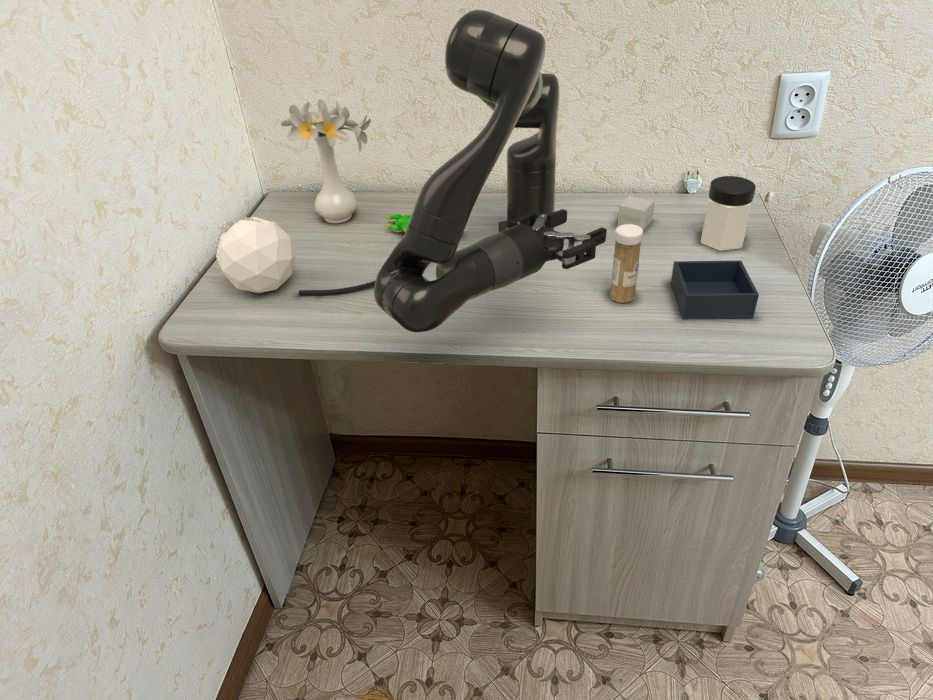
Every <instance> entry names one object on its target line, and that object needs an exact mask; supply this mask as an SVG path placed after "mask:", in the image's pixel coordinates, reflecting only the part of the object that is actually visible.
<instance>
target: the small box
mask: <svg viewBox="0 0 933 700" xmlns="http://www.w3.org/2000/svg"><path fill="white" fill-rule="evenodd" d="M618 206H619V207H618V220H617V227H618V226H620V225H624V224H633V225H637V226H639V227H641V228H642V230H643V231H645V230H646V228H647V227H648V226H649V225H650V224H651V223H652V221H653V217H654V208H655V199H649V198H644V197H639V196H633V195H628V196H627V198H626V199H625V200H623V202H622V203H620V204H619V205H618Z"/></svg>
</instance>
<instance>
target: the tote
mask: <svg viewBox="0 0 933 700" xmlns="http://www.w3.org/2000/svg"><path fill="white" fill-rule="evenodd" d="M670 287H671V289H672V292H673V296H674V299H675V301H676V304H677V307H678V311H679V313H680V317H681V319H682V320H718V319H719V320H739V319H741V320H742V319H743V320H744V319H746V320H748V319H749V320H751V319H753V320H754V316H755V313H756V308H757V304H758V302H759V301H758V300H759V297H760V294H759V292H758V290H757V288H756V286H755V285H754V282H753V281H752V278H751V277H750V274H749V273H748V271H747V269H746V267H745V264H744V263H743V261H742V259H741V260H738V259H737V260H681V261H680V260H677V261H675V260H674V261H673V267H672V272H671V279H670Z"/></svg>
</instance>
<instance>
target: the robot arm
mask: <svg viewBox="0 0 933 700" xmlns="http://www.w3.org/2000/svg"><path fill="white" fill-rule="evenodd" d="M546 47H547V46H546V39H545V36H544V35H543V34H542V33H541V32H539V31H537V30H535V29H533V28H531V27H528V26H526V25H524V24H521V23H520V22H519V23H518V22H517V21H515V20H511V19H509V18H506V17H504V16H501V15H499V14H496V13H494V12H492V11H489V10H485V9H473V10H471V11H470V10H469V11H468V12H466V13H465V14H463V15H462V16H461V17H460V18H459V19H458V20H457V22H456V23H455V24H454V26H453V27H452V29H451V30H450V34H449V35H448V38H447V42H446V45H445V51H444V66H445V72H446V75H447V78H448V80H449V81H450V82H451V84H452V85H453V86H455V87H456V88H457V89H459V90H461V91H464V92H466V93H469V94H471V95H472V96H475V97H477V98H478V99H479V100H481V101H482V102H483V103H484V104H485V105H486V106H487V107H488V108H489V109H490V110H491V111H493V112H492V113H491V116H490V118H489V119H488V121H487V122H486V124H485V125H484V127H483V128H482V130H481V131H480V132H479V133H478V134H477V135H476V137H474V139H472V140H471V141H470V142H469V143H468V144H467V145H466V146H464V147H463V149H461V150H460V151H458V152H457V153H456V154H455V155H454V156H452V157H450V158H449V159H448V160H447V161H446V162H444V163H443V164H442V165H440V166H439V168H437V169H436V170H435V171H434V172H433V173H432V174H431V175H430V176H429V177H428V178H427V180H426V181H425V183H424V184H423V186H422V187H421V189H420V191H419V194H418V196H417V198H416V202H415V205H414V206H413V209H412V213H411V214H410V215H411V218H410V220H409V224H408V226H407V229H406V232H404V234H403V236H402V237H401V239H400V240H399V241H398V243H397V244H396V245H395V246H394V248H393V250H392V251H391V252H390V254H389V255H388V257H387V259H386V260H385V261H384V263H383V264H382V266H381V267H380V269H379V271H378V273H377V275H376V278H375V280H372V281H369V282H366V283H361V284H358V285H353V286H348V287H342V288H335V289H334V288H332V289H299V290H298V295H299V296H307V295H308V296H311V295H312V296H324V295H326V296H327V295H337V294H338V295H339V294H347V293H352V292H356V291H360V290H364V289H365V290H366V289H368V288H371V287H374V288H373V295H374V300H375V303H376V304H377V306H378V308H379V309H381V310H382V311H383V312H384V313H385V314H387V315H388V316H389V317H390V318H392V320H394V321H395V322H396V323H397V324H398V325H400V326H401V327H402V328H403V329H404V330H407V331H408V332H410V333H411V332H412V333H425V332H429V331H431V330H434V329H436V328H438V327H439V326H441V325H442V324H443V323H444V322H445V321H447V320H448V319H449V318H450V317H451V316H452V315H454V313H456V312H457V311H459V309H461V308H462V307H463V306H464V305H465V304H466V303H467V302H469V301H471V300H474V299H475V298H478V297H481V296H482V295H484V294H487V293H489V292H491V291H494V290H499V289H501V288H505V287H507V286H509V285H511V284H513V283H515V282H516V283H517V282H518V281H520V280H522V279H524V278H527V277H529V276H531V275H534V274H536V273H537V272H539V271H540V270H541V269H542V268H543V267H544V265H545V264H546V263H547V262H549V261H559V262H561V268H562V269H563V270H569V269H571V268H574V267H576V266H579V265H582V264H584V263H587V262H589V261H591V260H594V259H596V251H597V247H598V246H600V245H603V244H605V243H606V241H607V232H608V231H607V228H606V227H603V226H602V227H599V228H597V229H594V230H592V231H589V232H587V233H586V234H575V233H574V232H572V231H569V232H560V231H556V230H555V228H556V227H559V226H562V225H563V224H566V223H567V221H568V210H566V209H564V208H562V209H559V210H555V202H556V199H555V198H556V167H557V132H558V131H557V130H558V118H559V110H560V108H559V107H560V95H561V94H560V82H559V79H558V77H557V76H556V75H555V74H553V73H546V72H544V73H543V72H541V71H542V69H543V65H544V61H545V56H546ZM514 129H538V131H537V132H535V133H534V134H533V135H531V136H529V137H527V138H524V139H523V138H522V139H521V140H518V141H515V142H513V143H512V144H511V145H510V146H508V148H507V150H506V151H507V152H506V219H505V220H501V221H498V232H495V233H494V234H490V235H488V236H486V237H483V238H481V239H479V240H477V241H476V242H475V243H473V244H471V245H467V246H465V247H463V248H461V249H458V247H459V244H460V241H461V239H462V236H463V234H464V232H465V229H466V227H467V224H468V222H469V219H470V216H471V214H472V211H473V209H474V207H475V205H476V202H477V200H478V198H479V196H480V193H481V192H482V189H483V188H484V186H485V183H486V182H487V180H488V178H489V176H490V174H491V173H492V171H493V169H494V167H495V165H496V163H497V161H498V159H499V158H500V156H501V154H502V152H503V151H504V149H505V146H506V145H507V143H508V140H509V139H510V137H511V134H512V133H513V131H514ZM565 240H568V245H567V246H568V247H567V248H566V249H564V247H565ZM579 242H580V244H578V245H575V243H579ZM457 249H458V250H457ZM431 263H432V264H436V266H435V278H436V279H432V280H429V279H428V278H427V277H426V276H424V273H425V271H426V269H427V268H428V266H430V264H431Z"/></svg>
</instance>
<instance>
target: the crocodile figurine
mask: <svg viewBox="0 0 933 700" xmlns="http://www.w3.org/2000/svg"><path fill="white" fill-rule="evenodd" d="M411 215H412V214H410V213H408V214H402V213H395V214H388V215H386V216H384V219H386V220H388V221H386V223H387V224H385V225H384V224H383V227H385V228H386V229H388V230H391V231H394V232H395V233H400V232H401V233H405V232H406V229H407V226H408V224H409V220H410V218H411Z"/></svg>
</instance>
